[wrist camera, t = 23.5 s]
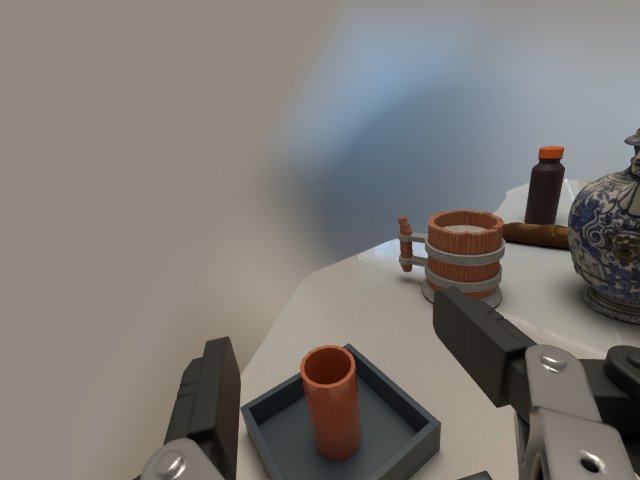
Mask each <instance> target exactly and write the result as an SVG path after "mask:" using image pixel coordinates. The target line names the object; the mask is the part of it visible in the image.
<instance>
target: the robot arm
mask: <svg viewBox="0 0 640 480" xmlns="http://www.w3.org/2000/svg"><path fill="white" fill-rule="evenodd" d="M433 327H434V330H435V332H436V335H437V336H438V338H439V339H440V340H441V341H442V343H443V344H444V345H445V346H446V347H447V349H448V350H449V351H450V352H451V353H452V355H453V356H454V357H455V358H456V359H457V361H458V362H459V363H460V364H461V365H462V367H463V368H464V369H465V370H466V371H467V373H468V374H469V375H470V376H471V377H472V379H473V380H474V381H475V382H476V383H477V385H478V386H479V387H480V388H481V389H482V391H483V392H484V393H485V394H486V395H487V397H488V398H489V399H490V400H491V401H492V403H493V404H494V405H495V406H496V407H497V408H499V407H503V406H506V405H509V404H510V405H511V406H512V407H513V408H514V409H515V413H514V422H515V434H516V445H517V457H518V469H519V480H637V478H636V475H635V473H636V474H637V475H638V476H639V477H640V348H637V347H632V346H624V345H621V346H614V347H612V348H610V349H609V350H608V353H607V356H606V359H605V360H597V359H577V358H576V357H575V356H573V355H572V354H570V353H569V352H567V351H565V350H563V349H560V348H558V347H555V346H550V345H541V344H540V345H538V344H537V343H535V342H534V341H533V340H532V339H530V338H529V337H528V336H527V335H525V334H524V333H523V332H522V331H520V330H519V329H518V328H517V327H515V326H514V325H513V324H512V323H510V322H509V321H508V320H507V319H504V317H503V316H502V315H500V314H499V313H498V312H495V310H494V309H493V308H492V307H490V306H489V305H488V304H487V303H485V302H484V301H482V300H479V299H477V298H475V297H473V296H467V295H465V294H464V293H463V292H462V291H461V290H459V289H458V288H457V287H455V286H453V287H448V288H444V289H439V290H436V291H435V292H434V298H433ZM240 390H241V380H240V373H239V368H238V365H237V361H236V358H235V354H234V351H233V348H232V344H231V341H230V339H229V337H223V338H219V339H215V340H210V341H207V342H206V345H205V350H204V354H203V357H201V358H197V359H193V360H192V362H191V363H190V364H189V366H188V367H187V368H186V370H185V371H184V373H183V376H182V380H181V384H180V388H179V391H178V394H177V399H176V402H175V405H174V409H173V412H172V416H171V419H170V423H169V427H168V430H167V434H166V437H165V441H164V444H163V446H162V447H161V448H159V449H158V450H157V451H156V452H155V453H154V454H153V456H151V457H150V459H149V461H148V462H147V463H146V465H145V466H144V469H143V471H142V474H140V475H139V476H138V477H136V478H135V479H133V480H236V467H237V448H238V429H239V409H240ZM634 472H635V473H634ZM458 480H492V478H491V477H490V475H489V474H488V472H487V471H483V472H480V473H477V474H474V475H471V476H468V477H465V478H461V479H458Z"/></svg>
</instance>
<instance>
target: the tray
mask: <svg viewBox="0 0 640 480" xmlns="http://www.w3.org/2000/svg"><path fill="white" fill-rule="evenodd" d="M342 348H344V349H346V350H347V351H348V352H350V353H351V354H352V356H353V358H354V361H355V365H356V375H357V385H358V395H359V405H360V415H361V425H362V442H361V445H360V447H359V449H358V451H357V452H356V453H355V454H354V455H353V456H352V457H350V458H348V459H346V460H342V461H333V460H329V459H327V458H325V457H324V456H322V455H321V454H320V453H319V451H318V450H317V448H316V446H315V443H314V438H313V433H312V427H311V422H310V417H309V412H308V407H307V402H306V397H305V392H304V387H303V381H302V376H301V372H300V373H298V374H296V375H295V376H293V377H291V378H290V379H288V380H286V381H285V382H283V383H281V384H279V385H278V386H276V387H274V388H273V389H271V390H269V391H268V392H266V393H264V394H263V395H261V396H259V397H258V398H256V399H254V400H252V401H251V402H249V403H247V405H244V406H242V407H241V408H240V409H241V412H242V415H243V418H244V421H245V424H246V427H247V431H248V433H249V435H250V437H251V439H252V442H253V444H254V446H255V448H256V450H257V452H258V454H259V457H260V459H261V461H262V463H263V465H264V467H265V469H266V472H267V474H268V476H269V478H270V480H408V479H409V478H410V477H411V476H412V475H413V474H414V473H415V472H416V471H418V470H419V469H420V468H421V467H422V466H423V465H424V464H425V463H426V462H427V461H428V460H429V459H430V458H431V457H432V456H433V455H434V454H435V453H436V452H437V451H438V450H439V449H440V432H441V423H440V422H439V421H438V420H437V419H436V418H435V417H433V416H432V415H431V414H430V413H429V412H428V411H427V410H425V409H424V408H423V407H422V406H421V405H420V404H418V403H417V402H416V401H415V400H414V399H413V398H412V397H410V396H409V395H408V394H407V393H406V392H405V391H403V390H402V389H401V388H400V387H399V386H398V385H396V384H395V383H394V382H393V381H392V380H391V379H390V378H388V377H387V376H386V375H385V374H384V373H383V372H381V371H380V370H379V369H378V368H377V367H376V366H375V365H373V364H372V363H371V362H370V361H369V360H368V359H366V358H365V357H364V356H363V355H362V354H361V353H359V352H358V351H357V350H356V349H355V348H354V347H353V346H351V345H350V344H349V343H348V344H347V345H345V346H344V347H342Z"/></svg>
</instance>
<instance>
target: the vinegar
mask: <svg viewBox="0 0 640 480" xmlns="http://www.w3.org/2000/svg"><path fill="white" fill-rule="evenodd" d="M563 151H564V147H559V146H550V147H542V148H540V150H539V156H538V157H539V158H538V159H539V163H538V164H537V165H536V166H534V167H533V169H532V173H531V180H530V187H529V194H528V201H527V207H526V214H525V223H526V224H535V225H554V223H555V219H556V214H557V209H558V203H559V198H560V193H561V187H562V182H563V177H564V172H565V168H564V166H563V165H562V164H561V163H560V159H562V156H563Z"/></svg>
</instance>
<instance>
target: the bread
mask: <svg viewBox="0 0 640 480" xmlns="http://www.w3.org/2000/svg"><path fill="white" fill-rule="evenodd" d="M502 238H503V239H504V240H507V241H515V242H522V243H529V244H537V245H544V246H552V247H560V248H568V249H570V248H569V243H568V228H567V227H564V226H560V225H535V224H522V223H518V222H514V223H510V224H504V228H503V236H502Z"/></svg>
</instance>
